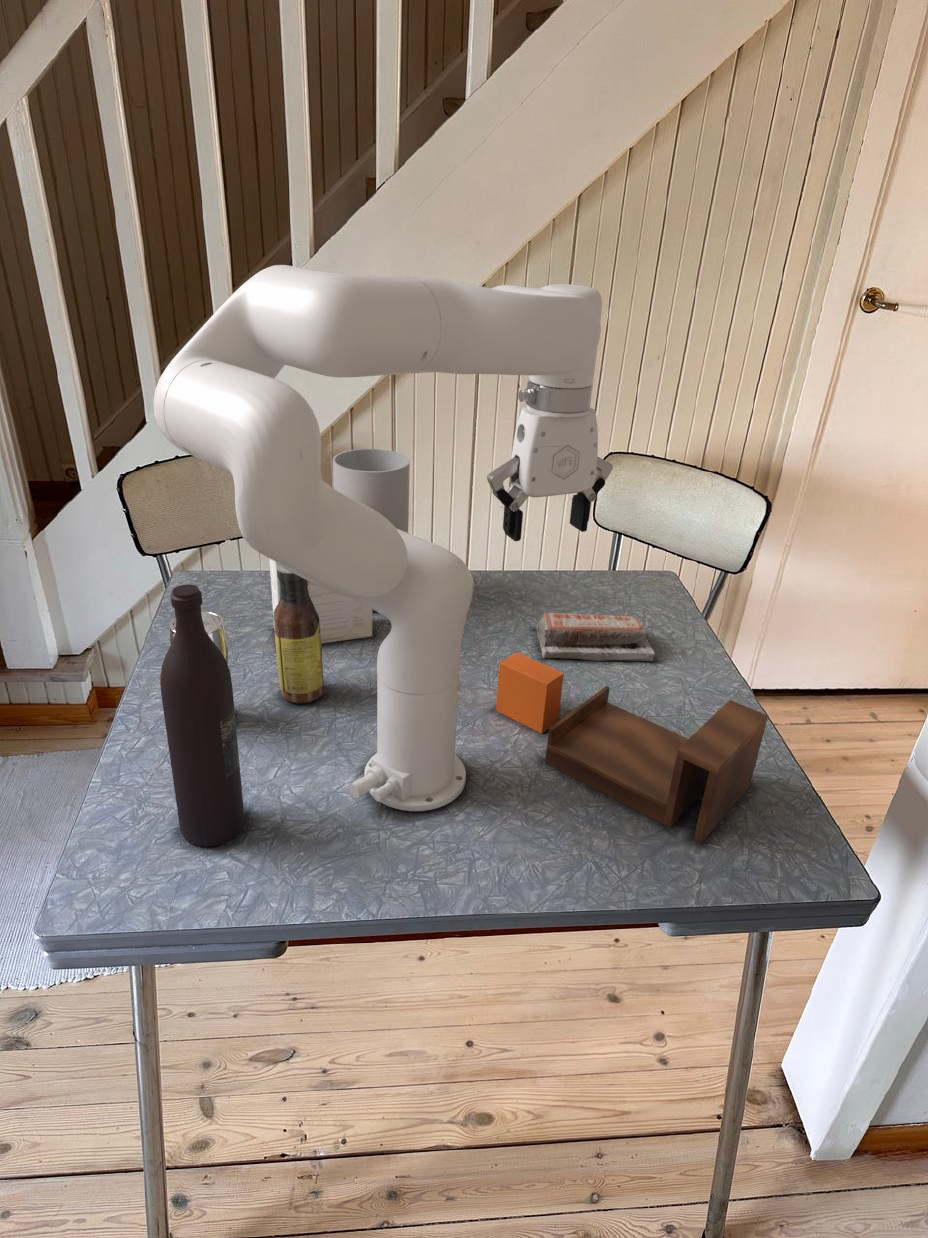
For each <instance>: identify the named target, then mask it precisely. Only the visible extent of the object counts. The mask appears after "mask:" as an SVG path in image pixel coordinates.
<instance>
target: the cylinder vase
mask: <svg viewBox="0 0 928 1238" xmlns="http://www.w3.org/2000/svg"><path fill="white" fill-rule="evenodd" d="M410 462H411V461H410V458H409V457H408V456H406V455H405V454H403V453H400V452H397V451H394V450H389V449H381V448H358V449H357V448H356V449H350V450H349V449H348V450H346V451H341V452H339V453H337V454H335V455H334V456H333V458H332V484H333V487H332V488H334V489H335V490H337V491H338V492H340V493H342V494H343V495H345V496H347V497H349V498H351V499H353V500H356V501H358V502H360V503H362V504H364V505H367V506H368V507H370V508H372V509H374V510H375V511H377V512H379V513H380V514H381V515H383V516H384V517H385V518H386V519H388V520H389V521H390V522H391V523H392V525H393V526H394V527H395V528H397V529H399V530H402V531H404V532H406V533H409V519H410V518H409V516H410V515H409V514H410V513H409V512H410V511H409V509H410V468H411V467H410V465H411V463H410ZM372 612H376V611H375V610H373V609H372Z"/></svg>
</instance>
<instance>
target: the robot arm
mask: <svg viewBox="0 0 928 1238" xmlns="http://www.w3.org/2000/svg"><path fill="white" fill-rule="evenodd" d="M602 311H603V297H602V295H601V293H600V291H598V289H596V288H594V287H591V286H586V285H582V284H581V285H579V284H569V283H555V284H548V285H545V286H543V287H528V286H520V285H515V284H501V285H497V286H493V287H492V288H489V287H486V286H482V285H477V284H473V283H469V282H464V281H458V280H452V279H447V278H438V277H429V276H427V277H426V276H393V275H376V274H358V273H344V272H331V271H324V270H317V269H311V268H305V267H298V266H293V265H288V264H274V265H271V266H268V267H266V268H264V269H261V270H260V271H258V272H257V273H255V274H254V275H253V276H252V277H250V278H249V279H248V280H246V281H245V282H244V283H243V284H242V285H241V286H239V287H238V288H237V289H236V290H235V291H234V292H233V293H232V294H231V295H230V296H229V297H228V298H227V299H226V300H225V301H224V303H222V304H221V305H220V306H219V308H218V309H217V310H216V311H215V312H214V313H213V314H212V316H210V318H209V319H208V320H207V321H206V322H205V323H204V324H203V325H202V326H201V327H200V328H199V329H198V331H197V332H196V333H195V334H194V335H193V336H192V337H191V338H190V340H188V341H187V342H186V344H185V345H184V346H183V347H182V348H181V349H180V350H179V351H178V353H176V355H175V356H174V357H173V358H172V359H171V360H170V362H169V363H168V364H167V366H166V367H165V369H164V371H163V372H162V374H161V375H160V377H159V379H158V382H157V384H156V386H155V390H154V394H153V403H152V405H153V414H154V418H155V422H156V424H157V426H158V428H159V430H160V432H161V434H163V436H164V437H165V439H166V440H167V441H168V442H170V444H172V445H173V446H175V447H176V448H177V449H179V451H182V452H184V453H186V454H188V455H190V456H192V457H195V458H197V459H200V460H201V461H204V462H206V463H208V464H211V465H213V466H215V467H218V468H220V469H222V470H223V471H226V472H228V473H230V474H231V475H232V479H233V485H234V507H235V514H236V520H237V524H238V528H239V531H240V534H241V536H242V539H243V540H245V542H246V543H247V545H248V546H249V547H251V548H252V549H253V550H254V551H256V552H258V553H259V554H261V555H262V556H264V557H266V558H268V559H269V558H270V559H272V560H274V561H275V562H276V563H277V564H279V565H280V566H281V567H283V568H285V569H286V570H288V571H290V572H292V573H294V574H296V575H298V576H300V577H302V578H304V579H306V580H308V581H309V582H311V583H313V584H315V585H317V586H320V587H322V588H324V589H326V590H329V591H331V592H334V593H336V594H339V595H343V596H347V597H350V598H352V599H354V600H356V601H358V602H360V603H362V604H364V605H366V606H368V607H370V608H371V609H373V610H375V611H374V612H376V613H378V614H380V615H382V616H384V617H385V618H387V619H388V620H389V622H390V624H391V628H390V632H388V635H387V636H386V637H385V638H384V639H383V641H382V642H381V644H380V646H379V649H378V652H377V657H376V681H377V682H376V688H377V689H376V693H377V695H376V696H377V697H376V700H377V701H376V704H377V706H376V715H377V716H376V732H377V733H376V734H377V735H376V753H375V754H373V755H372V756H371V757H370V759H368V762H367V763H366V765H365V767H364V776H363V777H359V778H357V779H355V781H353V782H351V783H349V785H348V792H349V795H350V796H351V797H352V798H353V799H356V800H358V799H359V798H361V797H363V796H364V795H366V794H367V793H369V794H370V795H371V797H373V799H374V800H375V801H376V802H378V803H381V804H383V805H384V806H387V807H390V808H392V809H396V810H399V811H405V812H406V811H407V812H426V811H431V810H435V809H439V808H441V807H444V806H446V805H448V804H450V803H452V802H453V801H454V800H455V799H457V798H458V797H459V795H461V794H462V793H463V790H464V788H465V785H466V779H467V771H466V767H465V765H464V763H463V761H462V760H461V758H459V757H458V756H457V755H456V739H457V738H456V737H457V721H458V720H457V719H458V700H459V699H458V698H459V684H460V683H459V681H460V662H461V661H460V660H461V649H462V642H463V634H464V631H465V630H464V629H465V625H466V620H467V617H468V614H469V610H470V607H471V603H472V599H473V594H474V593H473V592H474V581H473V580H474V579H473V575H472V573H471V571H470V569H469V567H468V565H467V564H466V563H465V562H464V561H463V560H462V559H461V558H460V557H459V556H458V555H456V554H455V553H454V552H452V551H451V550H450V549H447V548H445V547H443V546H441V545H440V544H439V545H438V544H437V543H434V542H432V541H430V540H427V539H425V538H422V537H420V536H418V535H414V534H411V533H409V532H408V533H406V532H404V531H402V530H399V529H397V528H395V527H394V526H393V525H392V523H391V522H390V521H389V520H388V519H386V518H385V517H384V516H383V515H381V514H380V513H379V512H377V511H375V510H374V509H372V508H370V507H368V506H367V505H364V504H362V503H360V502H358V501H356V500H353V499H351V498H349V497H347V496H345V495H343V494H342V493H340V492H338V491H337V490H335V489H334V488H333V487H332V486H331V485H330V484H329V483H327V482H325V481H324V480H323V477H322V468H321V467H322V435H321V429H320V426H319V422H318V418H317V417H316V415H315V413H314V410H313V408H312V407H311V405H310V404H309V402H308V401H307V400H306V399H305V398H304V396H303V395H302V394H301V393H300V392H299V391H297V390H296V389H294V388H293V387H291V386H290V385H289V384H287V383H286V382H283V381H281V380H280V379H276V377H277V376H278V375H279V374H280V372H281V371H282V369H283V368H284V367H285V366H289V367H292V368H296V369H299V370H302V371H305V372H309V373H312V374H316V375H321V376H324V377H330V378H363V377H377V376H378V377H379V376H393V375H406V374H407V375H408V374H427V373H440V374H441V373H443V374H452V375H501V376H502V375H504V376H508V375H509V376H528V381H527V384H526V388H525V389H520V390H519V392H518V400H519V402H520V403H524V402H525V404H526V406H524V407H522V408H521V411H520V414H519V417H518V421H517V425H516V428H515V433H514V438H513V444H512V449H511V458H510V459H509V460H508V461H506V462H504V464H501V465H500V466H498V467H497V468H495V469H494V470H492V471H491V472H489V473H488V474H487V476H486V480H487V482H488V485H489V488H490V489H491V490H492V495H494V497H495V498H496V499H498V501H499V502H500V503H501V504H502V505H503V518H502V519H503V520H502V529H503V532H504V534H505V535H506V536H507V537H508V538H509V539H511V540H512V541H513V542H520V541H521V539H522V532H523V531H522V530H523V520H524V519H523V517H524V512H523V511H522V509H520V508H521V507H522V506H523V504H524V503H525V502H526V501H527V499H528V498H529V497H530V498H545V497H552V496H554V497H555V496H562V495H571V494H573V496H572V498H571V505H570V515H569V525H571V526H572V527H574V528H575V529H577V530H578V531H580V532H582V533H583V532H584V533H585V532H587V531H588V523H589V521H590V515H591V509H592V508H591V506H592V502H594V501H596V500H597V494H599V492H600V491H601V490H602V489H603V488H604V487H605V485H606V480H607V479H608V478H609V476H610V475H611V473H612V470H613V468H614V465H613V464H612V463H610V462H609V461H607V460H605V459H603V458H601V457H600V456H598V451H599V450H598V449H599V444H598V443H599V432H598V430H599V429H598V418H597V417H598V416H597V410H596V409H594V408H592V407H591V405H592V397H593V389H594V379H595V372H596V362H597V354H598V346H599V344H600V339H601V333H602V327H601V320H602V313H603V312H602ZM507 479H509V483H510V484H511V485H510V486H509V487H508V489H505V486H504V483H505V480H507Z"/></svg>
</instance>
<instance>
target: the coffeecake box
mask: <svg viewBox="0 0 928 1238" xmlns="http://www.w3.org/2000/svg"><path fill="white" fill-rule="evenodd" d="M268 559H269V575H270V587H271V588H270V590H271V602H272V615H273V616H272V617H273V619H274V610H275V609H276V606H277V605H278V603H279V600H280V582H279V579H278V577H277V567H278V566H279V564H277V563H276V562H275V561H274V560H272V559H270V558H268ZM307 582H308V591H309V596H310V598H311V600H312V603H313V605H314V607H315V609H316V612H317V614H318V616H319V620H320V635H321V644H327V643H335V642H343V641H348V640H349V641H351V640H355V639H356V640H357V639H363V638H371V637H373V629H374V627H373V611H372V609H371V608H370V607H368V606H366V605H364V604H362V603H360V602H358V601H356V600H354V599H352V598H350V597H347V596H343V595H339V594H336V593H334V592H331V591H329V590H326V589H324V588H322V587H320V586H317V585H315V584H313V583H311V582H309V581H308V580H307ZM273 627H274V628H273V629H274V631H275V624H274V623H273Z"/></svg>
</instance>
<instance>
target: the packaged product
mask: <svg viewBox="0 0 928 1238" xmlns="http://www.w3.org/2000/svg"><path fill="white" fill-rule="evenodd" d="M535 627H536V633H537V638H538V642H539V646H540V651H541V655H542V658H543V659H568V660H570V659H571V660H585V661H586V660H587V661H595V662H597V661H598V662H601V661H637V662H638V661H639V662H653V661H654V658H655V656H656V653H655V651H654V649H653V648H652V645H651V644H650V642H649V640H648V638H647V632H646V628H645V625H644V623H643V622H642V621H640V620H639V618H637V617H635V616H627V615H609V614H607V615H606V614H586V613H584V614H583V613H566V612H565V613H564V612H563V613H562V612H544V613H543V615H542V617H541V619H540V620H539V621H538V623H536V624H535Z"/></svg>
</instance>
